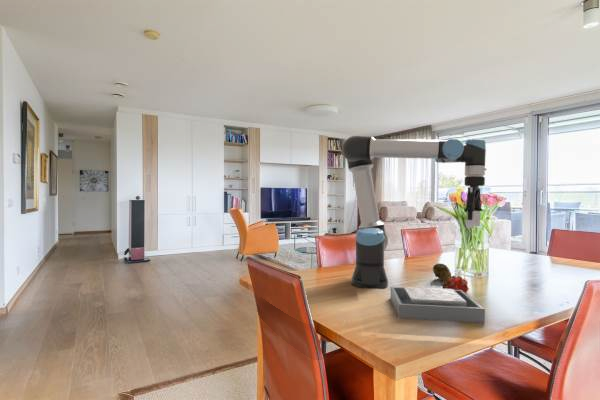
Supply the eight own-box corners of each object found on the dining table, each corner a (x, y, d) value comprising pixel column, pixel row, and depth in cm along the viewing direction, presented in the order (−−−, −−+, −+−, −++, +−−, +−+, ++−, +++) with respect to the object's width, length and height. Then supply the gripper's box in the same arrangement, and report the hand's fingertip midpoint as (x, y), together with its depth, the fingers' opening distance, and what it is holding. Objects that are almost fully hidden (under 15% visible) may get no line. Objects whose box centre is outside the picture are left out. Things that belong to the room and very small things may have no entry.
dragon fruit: (440, 302, 125) (463, 303, 130) (458, 293, 119) (480, 294, 124) (432, 280, 130) (454, 282, 135) (448, 271, 124) (470, 273, 129)
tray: (398, 321, 101) (398, 304, 101) (390, 300, 121) (390, 286, 120) (484, 326, 97) (484, 308, 97) (461, 304, 117) (461, 290, 117)
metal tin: (410, 315, 103) (410, 298, 103) (403, 301, 117) (403, 286, 117) (466, 318, 101) (466, 301, 101) (452, 303, 115) (452, 288, 115)
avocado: (458, 280, 152) (459, 262, 152) (444, 284, 144) (444, 265, 144) (441, 276, 159) (441, 259, 159) (426, 280, 151) (426, 262, 151)
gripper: (479, 174, 130) (477, 229, 130) (489, 177, 150) (487, 225, 150) (458, 174, 134) (456, 228, 134) (470, 178, 154) (469, 224, 154)
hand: (473, 226), depth 142 cm, fingers open, 13 cm apart
